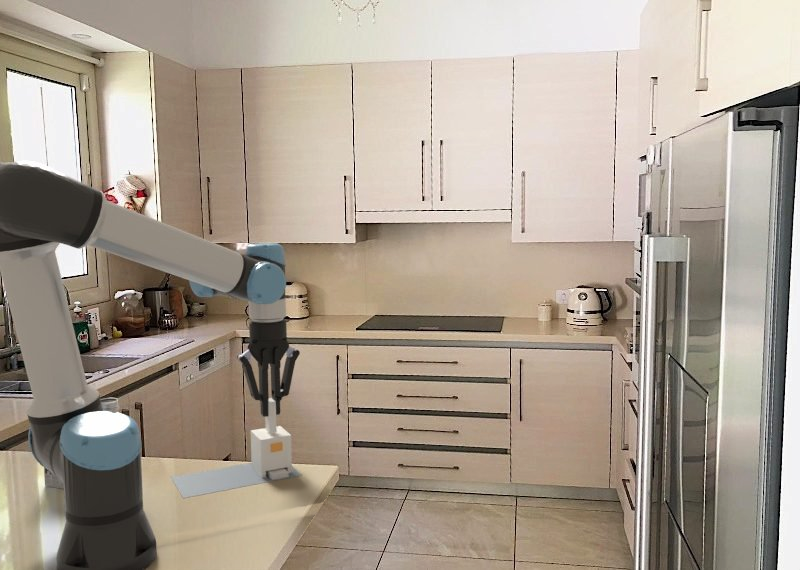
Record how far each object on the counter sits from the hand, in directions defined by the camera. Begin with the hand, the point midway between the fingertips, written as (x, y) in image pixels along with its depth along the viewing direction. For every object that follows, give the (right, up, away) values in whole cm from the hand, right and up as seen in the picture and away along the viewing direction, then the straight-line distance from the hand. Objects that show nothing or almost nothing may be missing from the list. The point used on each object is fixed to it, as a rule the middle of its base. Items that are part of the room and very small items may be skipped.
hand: (271, 430), depth 156 cm
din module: (0, -8, +1) cm, 9 cm away
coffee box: (-41, -11, 0) cm, 42 cm away
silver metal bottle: (-29, -12, -11) cm, 33 cm away
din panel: (-7, -10, -2) cm, 13 cm away
